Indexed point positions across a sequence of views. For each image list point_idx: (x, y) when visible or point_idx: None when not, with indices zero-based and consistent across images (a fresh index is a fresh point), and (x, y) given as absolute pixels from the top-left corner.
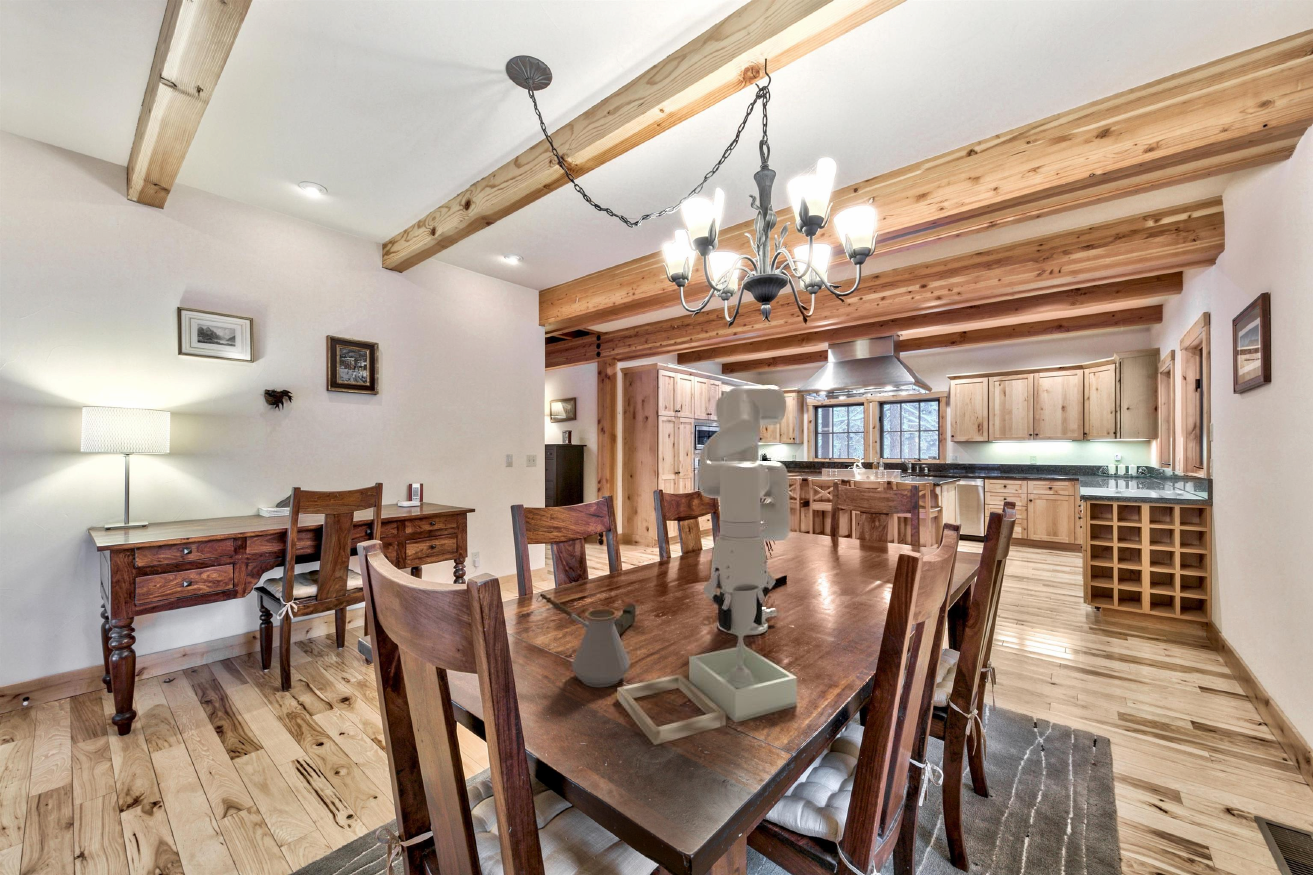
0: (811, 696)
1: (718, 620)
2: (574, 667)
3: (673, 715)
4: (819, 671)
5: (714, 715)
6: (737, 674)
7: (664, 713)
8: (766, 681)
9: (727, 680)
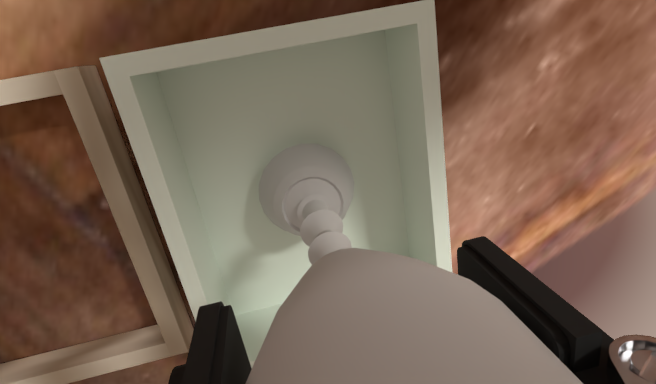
0: (483, 234)
1: (172, 382)
2: None
3: (43, 264)
4: (610, 98)
5: (152, 359)
6: (288, 227)
7: (11, 250)
8: (402, 171)
9: (262, 175)
